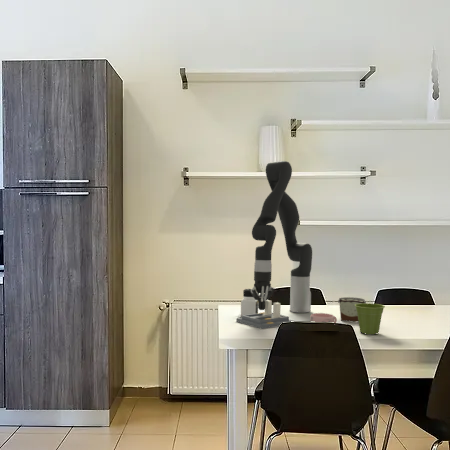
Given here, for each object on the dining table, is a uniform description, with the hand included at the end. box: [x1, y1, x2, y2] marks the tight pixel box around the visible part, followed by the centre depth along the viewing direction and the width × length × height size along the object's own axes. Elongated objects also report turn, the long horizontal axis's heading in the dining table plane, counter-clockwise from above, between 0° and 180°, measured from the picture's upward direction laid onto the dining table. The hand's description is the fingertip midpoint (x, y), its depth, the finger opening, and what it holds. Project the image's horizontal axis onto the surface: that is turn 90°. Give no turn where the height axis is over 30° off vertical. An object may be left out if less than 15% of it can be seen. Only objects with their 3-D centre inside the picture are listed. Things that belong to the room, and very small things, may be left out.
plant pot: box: [355, 302, 386, 335], centre depth 227 cm, size 12×12×11 cm
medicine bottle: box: [240, 288, 259, 316], centre depth 263 cm, size 7×7×12 cm
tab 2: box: [271, 302, 281, 318], centre depth 243 cm, size 4×3×7 cm
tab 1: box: [262, 299, 273, 315], centre depth 250 cm, size 4×3×7 cm
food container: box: [337, 296, 367, 322], centre depth 254 cm, size 12×6×10 cm, turn 71°
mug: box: [309, 312, 338, 324], centre depth 234 cm, size 12×10×6 cm
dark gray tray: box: [236, 311, 294, 330], centre depth 244 cm, size 18×17×3 cm
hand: (261, 309), depth 248 cm, fingers closed
